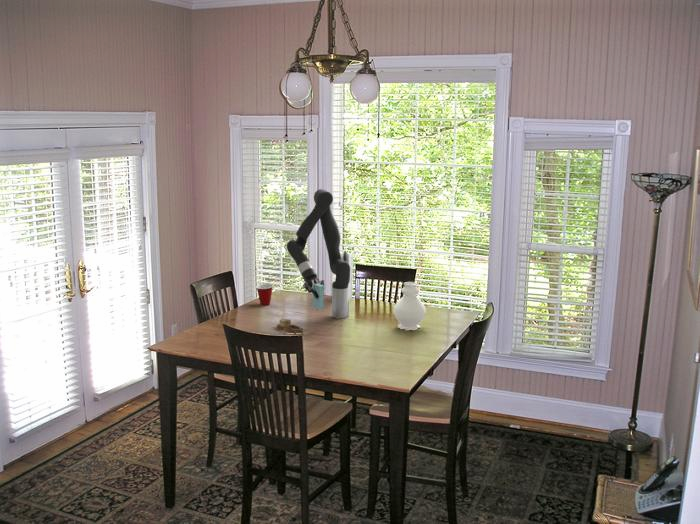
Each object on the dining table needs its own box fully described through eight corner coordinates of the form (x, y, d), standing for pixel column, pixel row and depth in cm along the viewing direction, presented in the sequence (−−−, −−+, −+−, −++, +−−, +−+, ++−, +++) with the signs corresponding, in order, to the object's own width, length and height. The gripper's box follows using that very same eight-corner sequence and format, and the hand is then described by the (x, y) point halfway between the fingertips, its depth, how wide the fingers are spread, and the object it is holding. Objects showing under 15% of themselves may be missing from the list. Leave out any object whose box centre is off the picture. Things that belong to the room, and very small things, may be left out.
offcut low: (286, 325, 392) (286, 322, 392) (291, 327, 389) (291, 323, 389) (279, 327, 389) (279, 323, 388) (283, 329, 386) (283, 325, 385)
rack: (291, 325, 396) (291, 319, 396) (314, 334, 381) (314, 328, 380) (270, 329, 388) (270, 324, 387) (293, 338, 372) (293, 333, 371)
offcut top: (286, 322, 391) (286, 318, 391) (290, 323, 389) (290, 319, 388) (279, 323, 388) (279, 319, 388) (284, 325, 385) (284, 321, 385)
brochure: (347, 301, 450) (348, 254, 444) (339, 300, 451) (340, 254, 445) (352, 296, 464) (353, 250, 458) (344, 295, 465) (344, 250, 459)
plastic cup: (254, 302, 442) (254, 283, 440) (272, 302, 445) (272, 283, 442) (256, 307, 432) (256, 287, 429) (274, 306, 434) (274, 287, 432)
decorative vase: (397, 321, 408) (399, 278, 403) (428, 324, 402) (430, 281, 397) (389, 329, 392) (390, 285, 387) (420, 333, 386) (422, 288, 381)
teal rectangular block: (316, 306, 391) (317, 283, 388) (323, 309, 386) (324, 285, 383) (312, 307, 389) (313, 284, 386) (319, 310, 384) (320, 286, 381)
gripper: (299, 268, 384) (313, 295, 378) (320, 266, 393) (334, 292, 387) (293, 276, 389) (307, 303, 383) (314, 273, 398) (327, 299, 392)
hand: (320, 297), depth 385 cm, fingers closed on teal rectangular block, 3 cm apart
